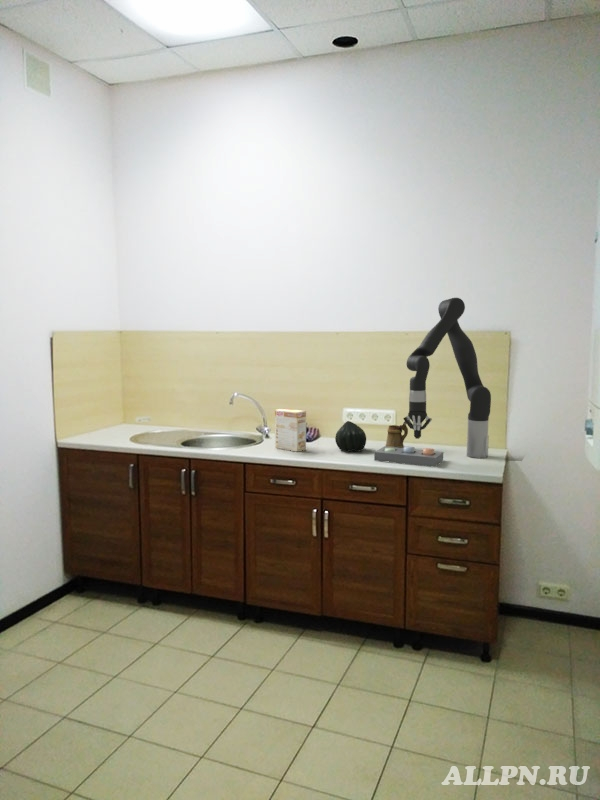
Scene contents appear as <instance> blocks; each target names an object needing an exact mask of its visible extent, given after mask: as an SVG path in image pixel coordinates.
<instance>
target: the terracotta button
mask: <svg viewBox="0 0 600 800" xmlns="http://www.w3.org/2000/svg"><path fill="white" fill-rule="evenodd" d="M422 450H423V455H432V456H433V455H434V451H435V449H434V448H430V447H427V448H426V447H425V448H422Z"/></svg>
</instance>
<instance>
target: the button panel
mask: <svg viewBox="0 0 600 800" xmlns="http://www.w3.org/2000/svg"><path fill="white" fill-rule="evenodd" d="M385 448H394V449H395V451H394V452H391V451H385ZM373 456H374V457H373V460H379V461H378V462H383V461H389V462H388V463H393V462H396V463H395V464H402V463H405V464H404V465H412V464H414V465H413V466H422V465H424V467H431V466H436V467H438V465H440V464H441V463H442V462H443V461H444V451H439V450H438V451H437V450H434V455H433V456H432V455H423V449H417V448H414V453H413V454H412V453H404V448H397V447H386V445H385V446H383V447H381V448H379V449H377V450H375V451H374V455H373ZM441 461H442V462H441ZM440 462H441V463H440ZM439 463H440V464H439Z"/></svg>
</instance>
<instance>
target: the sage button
mask: <svg viewBox="0 0 600 800" xmlns="http://www.w3.org/2000/svg"><path fill="white" fill-rule="evenodd" d="M385 451H391V452H394V451H395V449H394V448H385Z"/></svg>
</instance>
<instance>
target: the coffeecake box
mask: <svg viewBox="0 0 600 800" xmlns="http://www.w3.org/2000/svg"><path fill="white" fill-rule="evenodd" d="M274 412H275V413H274V419H275V420H274V423H275V424H274V425H275V426H274V429H275V430H274V431H275V433H274V435H275V436H274V438H275V443H274V445H275V446H274V447H275V449H279V450H284V451H285V450H286V451H290V450H291V451H292V452H295V451H298V452H302V450H303V451H306V450H307V411H306V410H300V409H292V408H278V409H277V408H276V409H275V410H274ZM291 451H290V452H291Z"/></svg>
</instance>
